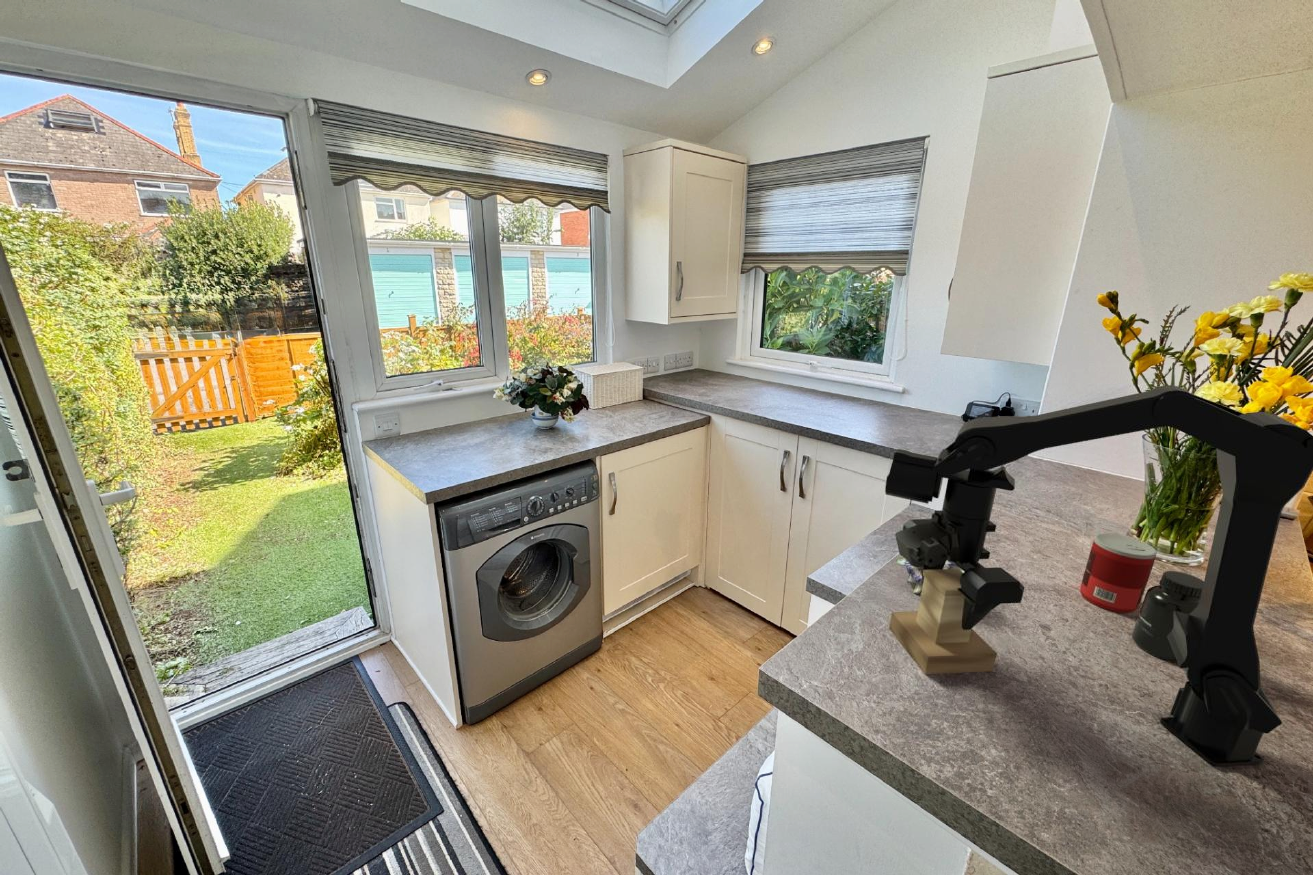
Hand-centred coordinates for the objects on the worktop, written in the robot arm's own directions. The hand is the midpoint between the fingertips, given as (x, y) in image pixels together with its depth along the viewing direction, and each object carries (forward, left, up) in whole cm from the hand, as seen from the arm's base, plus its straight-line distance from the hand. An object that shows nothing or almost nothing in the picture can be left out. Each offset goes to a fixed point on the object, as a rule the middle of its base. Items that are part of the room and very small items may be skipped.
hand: (945, 608), depth 76 cm
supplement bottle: (-2, -34, -7) cm, 35 cm away
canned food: (+10, -37, -7) cm, 39 cm away
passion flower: (+15, -9, -7) cm, 19 cm away
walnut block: (0, 0, -7) cm, 7 cm away
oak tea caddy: (0, 0, -4) cm, 4 cm away
